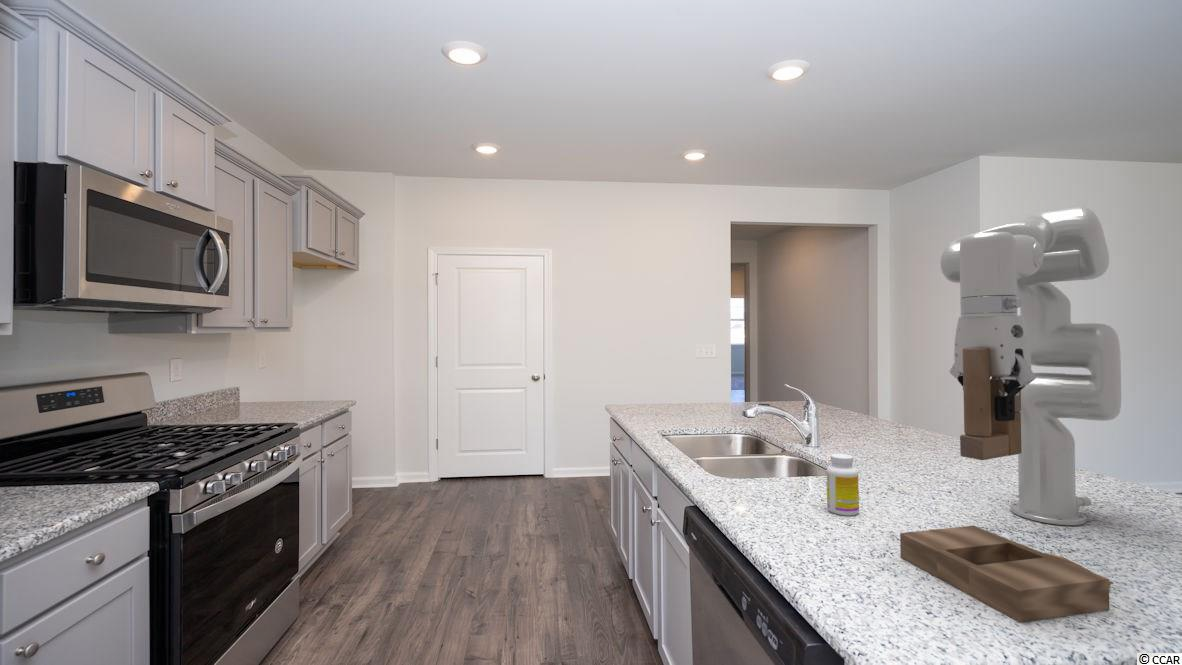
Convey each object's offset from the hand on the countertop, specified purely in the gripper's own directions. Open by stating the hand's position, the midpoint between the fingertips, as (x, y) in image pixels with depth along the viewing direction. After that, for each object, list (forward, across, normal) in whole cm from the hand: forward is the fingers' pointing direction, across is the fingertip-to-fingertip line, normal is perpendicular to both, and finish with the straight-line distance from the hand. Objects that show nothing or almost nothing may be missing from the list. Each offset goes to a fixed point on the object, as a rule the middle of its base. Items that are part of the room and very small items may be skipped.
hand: (990, 416), depth 86 cm
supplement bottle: (+27, +35, +2) cm, 44 cm away
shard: (+28, +1, -16) cm, 32 cm away
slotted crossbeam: (+27, 0, 0) cm, 27 cm away
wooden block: (+7, 0, 0) cm, 7 cm away
